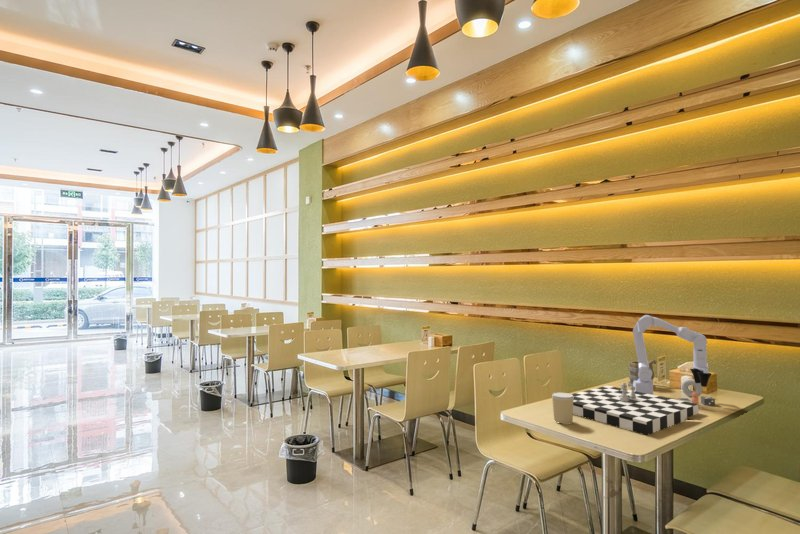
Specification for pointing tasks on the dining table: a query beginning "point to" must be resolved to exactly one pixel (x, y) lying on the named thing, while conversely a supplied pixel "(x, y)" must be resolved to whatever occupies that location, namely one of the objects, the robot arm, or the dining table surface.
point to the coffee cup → (563, 407)
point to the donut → (686, 390)
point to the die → (708, 401)
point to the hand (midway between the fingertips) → (700, 384)
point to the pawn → (695, 398)
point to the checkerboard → (631, 408)
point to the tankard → (637, 371)
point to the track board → (687, 401)
